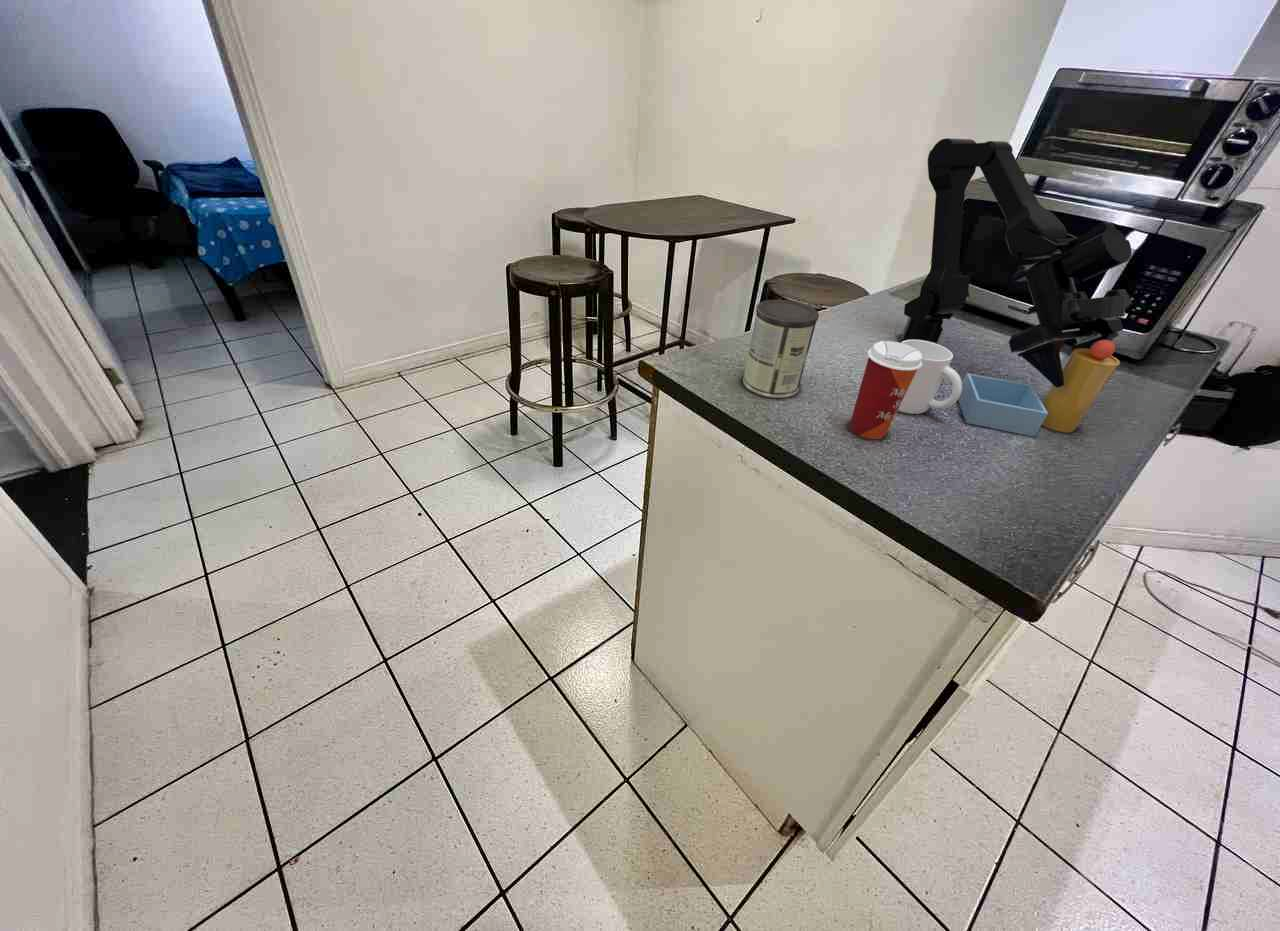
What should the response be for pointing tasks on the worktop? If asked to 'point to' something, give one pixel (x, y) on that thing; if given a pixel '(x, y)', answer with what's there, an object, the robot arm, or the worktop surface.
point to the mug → (930, 379)
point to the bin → (1001, 404)
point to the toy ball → (1102, 349)
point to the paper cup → (883, 387)
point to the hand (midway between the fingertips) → (1079, 383)
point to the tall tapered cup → (1077, 389)
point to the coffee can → (779, 347)
